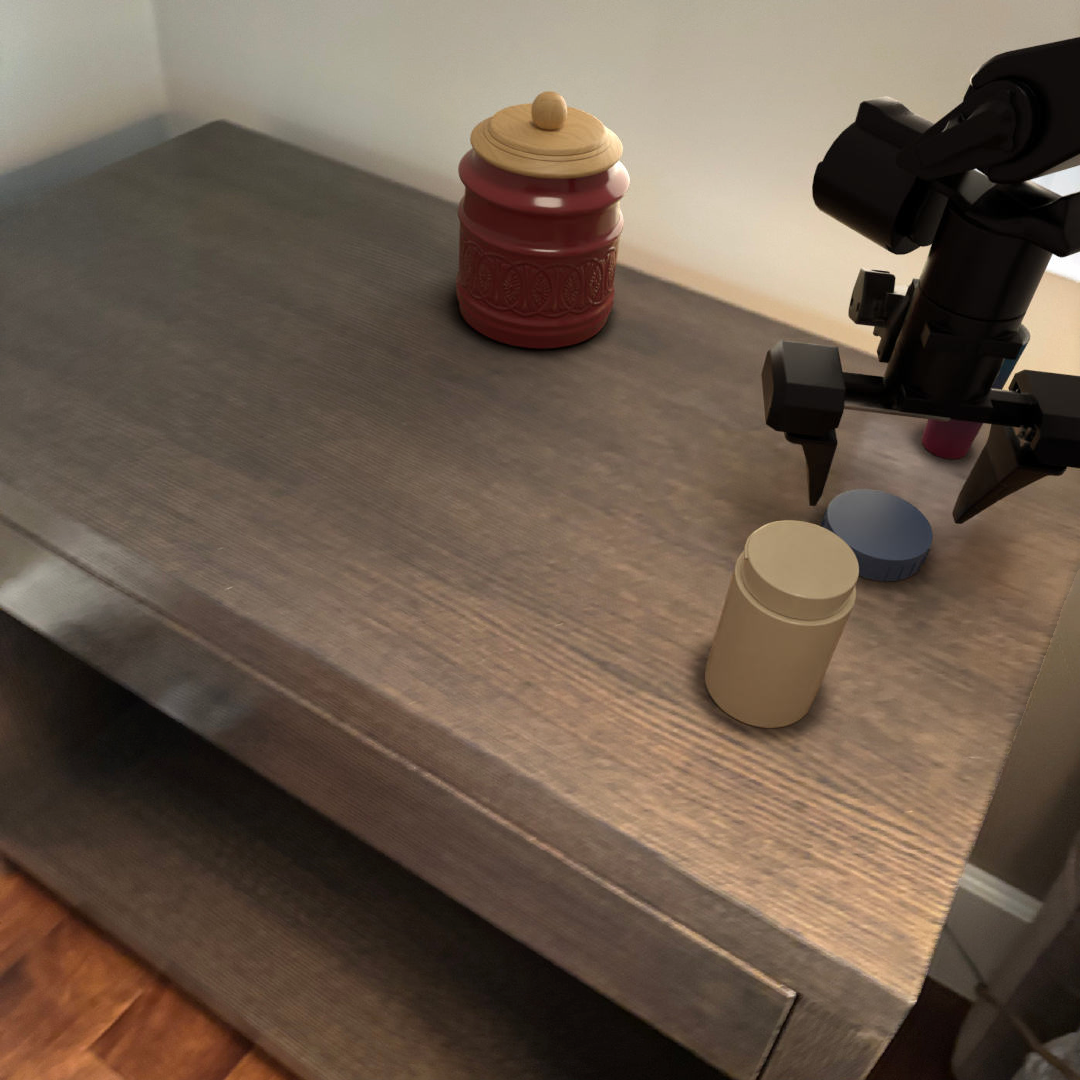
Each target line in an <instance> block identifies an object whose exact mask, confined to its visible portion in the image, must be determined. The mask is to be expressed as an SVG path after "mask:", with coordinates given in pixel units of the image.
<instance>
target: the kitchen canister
mask: <svg viewBox="0 0 1080 1080" xmlns="http://www.w3.org/2000/svg"><path fill="white" fill-rule="evenodd" d="M469 141H470V145H471V147H472V148H470V149H469V150H468V151H466V152H465V154H463V156H461V158H460V161H459V163H458V166H457V172H458V173H457V174H458V177H459V179H460V181H461V184H463V186H464V194H463V196H462V197H461V199H460V201H459V203H458V205H457V216H458V220H459V238H458V270H457V273H456V278H455V284H456V286H455V293H456V298H457V301H458V307H459V312H460V314H461V316H462V318H463V319H464V321H466V323H467V324H468V325H469V326H470V327H472V329H474V330H476V331H477V332H478V333H480V334H481V335H484V336H485V337H487V338H490V339H491V340H494V341H496V342H499V343H503V344H506V345H509V346H515V347H520V348H527V349H556V348H557V349H558V348H562V347H563V348H565V347H568V346H573V345H576V344H579V343H583V342H584V341H586V340H589V339H591V338H592V337H594V336H595V335H597V334H598V333H599V332H600V331H601V330H602V329H603V328H604V327H605V325H606V323H607V321H608V319H609V315H610V313H611V311H612V309H613V305H614V298H615V292H616V290H615V283H614V282H615V276H616V268H617V261H618V260H617V259H618V254H619V247H620V239H621V234H622V233H623V231H624V226H625V217H624V214H623V212H622V210H621V200H622V199H623V198H624V197H625V195H626V194H627V193H628V191H629V188H630V185H631V184H630V183H631V178H630V174H629V171H628V170H627V168H626V167H625V165H623V163H622V162H621V161H620V160H621V158H622V156H623V152H624V147H623V143H622V141H621V139H620V138H619V137H618V135H616V133H615V132H613V131H612V130H611V129H609V128H608V127H607V126H605V125H604V123H603V122H602V121H601V120H600V119H598V118H597V117H596V116H594V115H593V114H590V113H588V112H586V111H584V110H582V109H579V108H575V107H571V106H567V102H566V100H565V98H564V97H563V96H562V95H561V94H560V93H558V92H555V91H553V90H552V91H551V90H547V91H543V92H540V93H539V94H537V96H535V98H534V100H533V102H531V103H530V102H529V103H520V104H516V105H511V106H508V107H504V108H502V109H500V110H498V111H496V113H494V114H493V115H492V116H490V117H487V118H485V119H484V120H482V121H480V122H478V123H477V125H475V126H474V127H473V128H472V130H471V132H470V136H469Z"/></svg>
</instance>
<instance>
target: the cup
mask: <svg viewBox="0 0 1080 1080" xmlns="http://www.w3.org/2000/svg"><path fill="white" fill-rule="evenodd" d="M1018 333H1019V336H1020V338H1021V340H1022V342H1023V345H1022V347H1021V349H1020V352H1019V354H1018V356H1017V358H1016V360H1011V359H1005V360H1004V362H1003V364H1002V366H1001V368H1000V371H999V373H998V375H997V377H996V379H995V382H994V384H993V386H992V389H1000V390H1004V387H1005V385H1006V384H1007V382H1008V380H1009V378H1010V376H1011V375H1012V373H1013V371H1014V369H1015V367H1016V366H1017V364H1018V362H1019V360H1020V358H1021V356H1022V355H1023V353H1024V351H1025V349H1026V347H1027V345H1028V344H1029V342H1030V340H1031V333H1030V331H1029V330H1028V328H1027V327H1026V326H1025V325H1024V324H1023V323H1021V325H1020V327H1019V329H1018ZM983 425H984V423H978V422H969V421H961V420H953V419H951V420H950V421H939V420H931V419H927V421H926V424H925V428H924V431H923V433H922V436H921V443H922V446H923V447H924V448H925V449H926V450H927V451H928V452H930V453H931V454H933V455H935V456H937V457H940V458H943V459H947V460H956V459H957V460H958V459H961V458H964V457H965V456H966V455H967V453H968V452H969V450H970V448H971V447H972V445H973V443H974V441H975V439H976V437H977V435H978V434H979V432H980V430H981V429H982V426H983Z"/></svg>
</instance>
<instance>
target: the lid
mask: <svg viewBox="0 0 1080 1080" xmlns="http://www.w3.org/2000/svg"><path fill="white" fill-rule="evenodd" d="M820 526H821V527H823V528H825V529H827V530H829V531H831V532H833V533H834V534H836V535H837V536H839V537H840V538H841V539H842V540H844V541H845V542H846V543H847V544H848V545H849V547H850V548H851V549H852V550H853V552H854V554H855V556H856V558H857V561H858V564H859V576H858V577H860V578H864V579H868V580H873V581H877V582H896V581H902V580H905V579H907V578H911V577H912V576H913V575H914V574H915V573H917V572H919V571H920V570H921V568H922V565H924V564H925V562H926V560H927V558H928V556H929V553H930V552H931V546H932V543H933V540H934V533H933V528H932V525H931V524H930V522H929V520H928V519H927V517H926V516H925V515H924V513H923V512H922V511H920V509H918V508H917V507H916V506H915V505H914V504H912V503H911V502H909V501H907V499H904V498H902V497H900V496H897V495H895V494H892V493H889V492H886V491H883V490H877V489H871V488H858V489H851V490H847V491H844V492H842V493H840V494H838V495H836V496H835V497H833V499H831V501H830V503H829V504H828V506H827V508H825V511H824V514H823V516H822V519H821V522H820Z"/></svg>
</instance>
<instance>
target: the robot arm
mask: <svg viewBox="0 0 1080 1080" xmlns="http://www.w3.org/2000/svg"><path fill="white" fill-rule="evenodd" d="M969 82H970V83H969V86H968V87H967V90H966V92H965V94H964V96H963V99H962V102H960V103H959V104H958V105H956V106H955V107H954V108H953V109H951V110H950V111H949V112H948V113H947V114H945V115H944V116H943V117H941V118H940V119H939V120H938V121H937V122H933V121H931V120H929V119H927V118H925V117H923V116H921V115H919V114H917V113H915V112H913V111H912V110H910V109H909V108H908V107H907V106H906V105H905V104H903V103H902V102H900V101H899V100H896V99H894V98H892V97H890V96H888V95H885V96H881V97H876V98H871V99H866V100H863V101H861V102H860V103H859V106H858V109H857V112H856V115H855V119H854V122H852V123H850V124H849V125H848V126H847V127H846V128H844V129H843V130H842V132H841V133H840V134H839V135H838V136H837V137H836V138H835V139H834V141H833V142H832V143H831V145H830V146H829V148H828V150H827V151H826V152H825V154H824V157H823V159H822V160H821V161H819V162H818V163H817V165H816V166H815V171H814V174H813V179H812V183H811V184H812V185H811V193H812V200H813V202H814V205H815V206H816V208H817V209H818V210H819V211H820V212H822V213H824V214H826V215H827V216H828V217H831V218H832V219H834V220H835V221H837V222H838V223H840V224H842V225H843V226H844V225H845V226H846V227H848V228H849V229H851V230H852V231H854V232H856V233H857V234H859V235H861V236H862V237H864V238H866V239H867V240H869V241H871V242H872V243H874V244H876V245H877V246H879V247H881V248H883V249H884V250H886V251H888V252H889V253H891V254H893V255H896V256H903V255H907V254H910V253H912V252H914V251H916V250H917V249H920V248H921V247H922V248H925V247H929V246H930V248H929V251H928V253H927V255H926V258H925V261H924V264H923V266H922V269H921V273H920V276H919V278H916V277H915V278H914V277H913V278H912V280H911V283H910V284H908V285H906V284H897V283H896V275H895V274H893V273H891V272H890V271H888V270H885V269H877V268H867V267H860V269H859V271H858V274H857V278H856V280H855V283H854V286H853V289H852V292H851V296H850V300H849V305H848V312H847V313H848V318H849V319H850V320H851V321H852V322H853V323H854V324H855V325H859V326H868V327H873V331H872V335H873V336H874V337H879V338H880V340H879V343H878V346H877V348H876V354H877V359H878V362H879V363H883V364H887V366H886V368H885V371H884V374H883V376H882V375H873V374H864V373H858V372H857V373H855V372H848V371H843V367H842V361H841V355H840V351H839V347H838V346H833V345H827V344H826V345H824V344H817V343H809V342H808V343H807V342H800V341H791V340H783V339H781V340H779V341H778V342H777V343H775V344H774V345H773V346H772V347H771V348H770V349H769V350H768V351H766V355H765V360H764V362H763V366H762V371H761V375H760V376H761V386H762V398H763V408H764V419H765V425H766V426H768V427H769V428H771V429H772V430H773V431H775V432H778V433H779V432H780V433H783V434H784V438H785V440H786V441H787V442H789V443H790V444H793V445H794V444H795V445H800V446H801V447H802V450H803V454H804V458H805V463H806V464H805V465H806V467H805V468H806V482H807V495H808V497H807V498H808V504H809V506H812V507H817V505H818V503H819V502H820V499H821V497H822V496H823V493H824V490H825V488H826V485H827V480H828V477H829V474H830V470H831V467H832V463H833V460H834V457H835V453H836V450H837V447H838V438H837V432H836V429H838V428H839V426H840V423H841V420H842V417H843V415H844V411H845V410H850V411H851V410H852V411H858V412H866V413H867V412H868V413H874V414H882V415H890V416H891V415H892V416H897V417H898V416H899V417H907V418H915V419H923V420H928V419H931V420H939V421H950V420H951V419H953V420H961V421H969V422H978V423H983V424H987V425H990V427H989V433H988V437H987V440H986V442H985V444H984V446H983V448H982V450H981V452H980V454H979V456H978V458H977V459H976V461H975V463H974V465H973V467H972V468H971V471H970V472H969V474H968V476H967V478H966V480H965V482H964V484H963V485H962V488H961V490H960V491H959V493H958V496H957V499H956V501H955V504H954V506H953V508H952V513H951V515H952V519H953V523H954V524H956V525H962V524H964V523H966V522H968V521H969V520H970V519H972V518H974V517H975V516H977V515H978V514H980V513H982V512H984V511H985V510H987V509H989V508H990V507H991V506H993V505H994V504H996V503H998V502H999V501H1001V500H1004V498H1006V497H1008V496H1010V495H1011V494H1013V493H1015V492H1017V491H1020V490H1022V489H1024V488H1025V487H1028V486H1029V485H1031V484H1034V483H1036V482H1037V481H1039V480H1041V479H1043V478H1046V477H1048V476H1052V477H1061V476H1062V475H1063V474H1064V473H1065V472H1066V471H1067V469H1068V468H1073V469H1080V375H1074V374H1066V373H1058V372H1057V373H1056V372H1049V371H1040V370H1032V369H1026V368H1025V369H1022V370H1020V371H1018V372H1015V373H1014V375H1013V377H1012V379H1011V381H1010V384H1009V385H1008V389H1007V390H1006V389H1002V390H1000V389H992V386H993V384H994V382H995V379H996V377H997V375H998V373H999V371H1000V368H1001V366H1002V364H1003V362H1004V360H1005V359H1011V360H1016V358H1017V356H1018V354H1019V352H1020V349H1021V347H1022V345H1023V342H1022V340H1021V338H1020V336H1019V333H1018V329H1019V327H1020V325H1021V324H1023V323H1022V322H1023V321H1024V318H1025V316H1026V314H1027V312H1028V309H1029V307H1030V305H1031V302H1032V300H1033V298H1034V296H1035V294H1036V292H1037V290H1038V287H1039V285H1040V283H1041V281H1042V279H1043V276H1044V273H1045V272H1046V271H1047V267H1048V266H1049V263H1050V261H1051V259H1052V257H1053V255H1054V256H1055V257H1058V258H1062V259H1063V258H1066V257H1069V256H1072V255H1075V254H1077V253H1080V190H1078V191H1075V192H1071V193H1068V194H1065V195H1061V194H1059V193H1057V192H1054V191H1053V190H1051V189H1048V188H1047V187H1045V186H1043V185H1040V184H1038V183H1036V182H1035V181H1032V180H1034V179H1038V178H1041V177H1045V176H1048V175H1052V174H1056V173H1059V172H1062V171H1066V170H1069V169H1072V168H1076V167H1080V36H1077V37H1072V38H1067V39H1062V40H1058V41H1052V42H1047V43H1042V44H1038V45H1032V46H1027V47H1023V48H1018V49H1013V50H1008V51H1004V52H1001V53H998V54H996V55H994V56H992V57H991V58H989V59H988V60H986V61H985V62H983V63H981V64H980V66H978V67H977V68H976V70H975V71H974V72H973V73H972V74H971V76H970V80H969Z"/></svg>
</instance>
